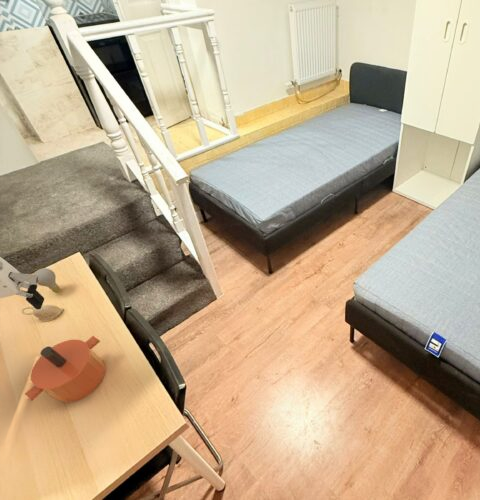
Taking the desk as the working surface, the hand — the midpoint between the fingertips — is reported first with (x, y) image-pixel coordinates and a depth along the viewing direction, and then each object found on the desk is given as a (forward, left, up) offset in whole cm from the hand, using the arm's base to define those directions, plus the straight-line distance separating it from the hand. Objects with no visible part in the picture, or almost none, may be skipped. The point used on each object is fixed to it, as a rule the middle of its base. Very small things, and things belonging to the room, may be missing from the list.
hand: (17, 309), depth 75 cm
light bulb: (-13, +30, -25) cm, 41 cm away
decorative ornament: (-13, +20, -25) cm, 35 cm away
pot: (+2, -5, -25) cm, 26 cm away
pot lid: (+2, -5, -17) cm, 18 cm away
